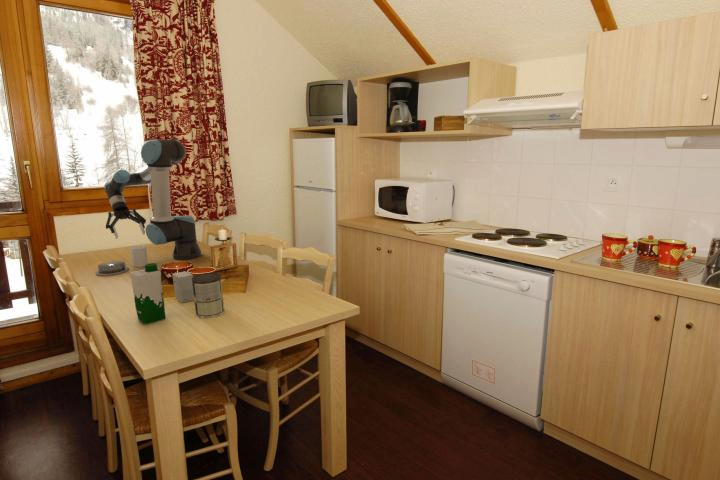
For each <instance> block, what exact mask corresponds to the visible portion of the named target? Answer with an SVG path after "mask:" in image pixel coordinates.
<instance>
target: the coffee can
mask: <svg viewBox="0 0 720 480" xmlns="http://www.w3.org/2000/svg"><path fill="white" fill-rule="evenodd" d="M192 284H193V292H194V300H193V301H194V306H195V307H194V309H195V316H196V317H197V318H200V319H209V318H215V317H216V318H217V317H218V316H221V315H223V314H224V313H226V312H225V310H226V309H225V306H224V305H225V303H224V293H223V285H222V274H221V273H219V272H206V273H205V272H204V273H199V274H197V275H193V277H192Z"/></svg>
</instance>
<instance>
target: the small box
mask: <svg viewBox="0 0 720 480" xmlns="http://www.w3.org/2000/svg"><path fill="white" fill-rule="evenodd" d="M192 277H194V274H193V273H191V272H188V271H181V272H176V273H172V281H173V282H172V283H173V289H174V297H175V299H176V300H178V301H179V302H181V303H187V302H190V301H194V292H193V284H192Z"/></svg>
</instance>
